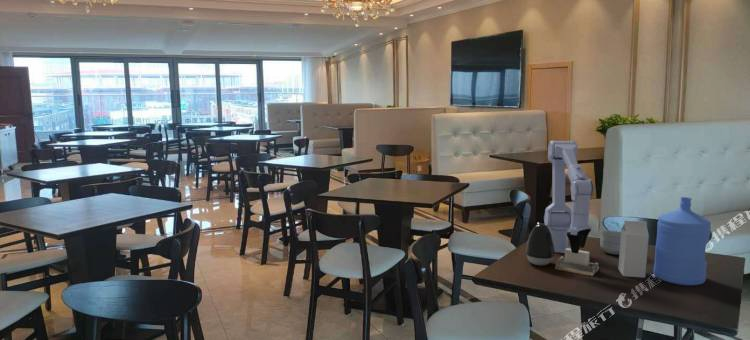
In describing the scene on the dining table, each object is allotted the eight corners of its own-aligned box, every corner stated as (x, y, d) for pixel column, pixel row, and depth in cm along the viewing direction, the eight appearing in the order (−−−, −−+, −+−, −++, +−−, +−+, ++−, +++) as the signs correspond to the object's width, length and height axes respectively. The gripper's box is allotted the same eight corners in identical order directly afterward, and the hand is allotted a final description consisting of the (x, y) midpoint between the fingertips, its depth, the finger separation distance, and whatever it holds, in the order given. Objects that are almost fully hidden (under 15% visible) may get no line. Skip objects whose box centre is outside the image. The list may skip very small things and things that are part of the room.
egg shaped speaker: (550, 259, 203) (552, 220, 201) (556, 268, 193) (559, 227, 190) (523, 258, 204) (524, 219, 202) (528, 267, 194) (529, 226, 191)
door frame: (562, 262, 200) (562, 255, 199) (598, 269, 192) (599, 261, 192) (554, 268, 192) (555, 261, 192) (592, 276, 185) (593, 268, 185)
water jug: (678, 288, 174) (686, 204, 170) (642, 272, 189) (649, 194, 185) (716, 283, 178) (725, 201, 174) (678, 268, 193) (685, 192, 189)
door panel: (565, 263, 196) (566, 247, 195) (588, 268, 191) (589, 251, 190) (564, 265, 194) (564, 249, 193) (587, 269, 189) (588, 253, 188)
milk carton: (645, 278, 183) (649, 224, 180) (623, 276, 185) (627, 223, 182) (639, 271, 190) (643, 219, 187) (618, 269, 192) (622, 218, 189)
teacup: (593, 250, 214) (594, 231, 213) (612, 247, 219) (614, 228, 218) (622, 260, 202) (623, 240, 201) (642, 256, 206) (643, 236, 205)
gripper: (586, 218, 181) (584, 257, 183) (597, 210, 193) (594, 246, 195) (565, 215, 185) (563, 253, 187) (577, 208, 197) (574, 243, 199)
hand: (577, 250), depth 191 cm, fingers open, 7 cm apart
